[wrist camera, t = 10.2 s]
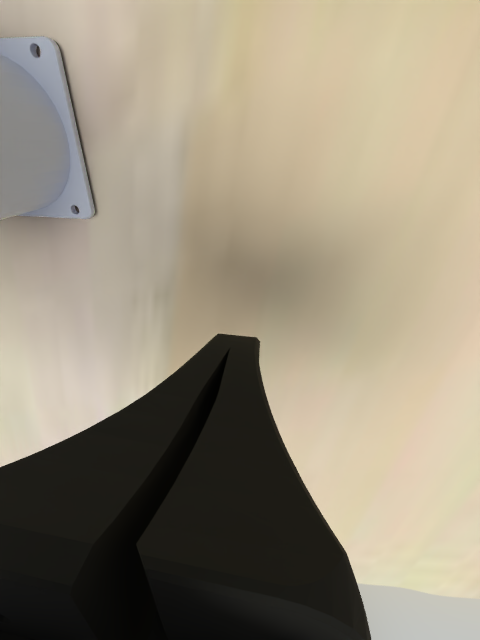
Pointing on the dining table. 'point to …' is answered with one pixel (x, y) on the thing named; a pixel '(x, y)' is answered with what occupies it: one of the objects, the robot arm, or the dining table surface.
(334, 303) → the dining table surface
